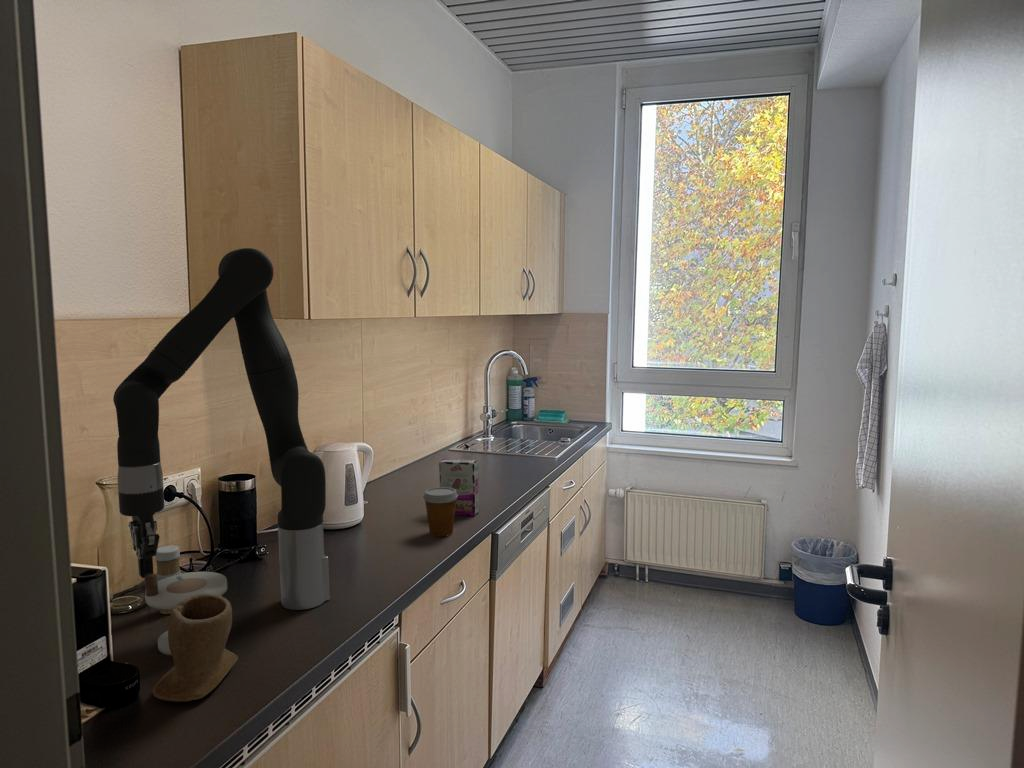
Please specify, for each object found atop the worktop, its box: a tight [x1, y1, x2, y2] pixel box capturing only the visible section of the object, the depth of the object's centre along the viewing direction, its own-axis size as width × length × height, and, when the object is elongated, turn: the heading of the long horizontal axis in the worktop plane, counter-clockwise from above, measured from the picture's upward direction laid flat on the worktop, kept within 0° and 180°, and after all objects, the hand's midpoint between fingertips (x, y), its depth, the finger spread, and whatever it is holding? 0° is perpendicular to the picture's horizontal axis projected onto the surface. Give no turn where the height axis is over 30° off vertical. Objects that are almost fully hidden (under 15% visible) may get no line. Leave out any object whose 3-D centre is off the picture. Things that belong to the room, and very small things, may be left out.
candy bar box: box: [438, 458, 480, 517], centre depth 214 cm, size 11×5×16 cm, turn 76°
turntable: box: [144, 571, 228, 610], centre depth 133 cm, size 14×14×5 cm
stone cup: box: [152, 594, 239, 703], centre depth 119 cm, size 15×12×15 cm
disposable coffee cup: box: [423, 486, 458, 537], centre depth 196 cm, size 10×10×12 cm
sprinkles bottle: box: [154, 545, 182, 615], centre depth 147 cm, size 5×5×14 cm
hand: (146, 575), depth 134 cm, fingers closed
